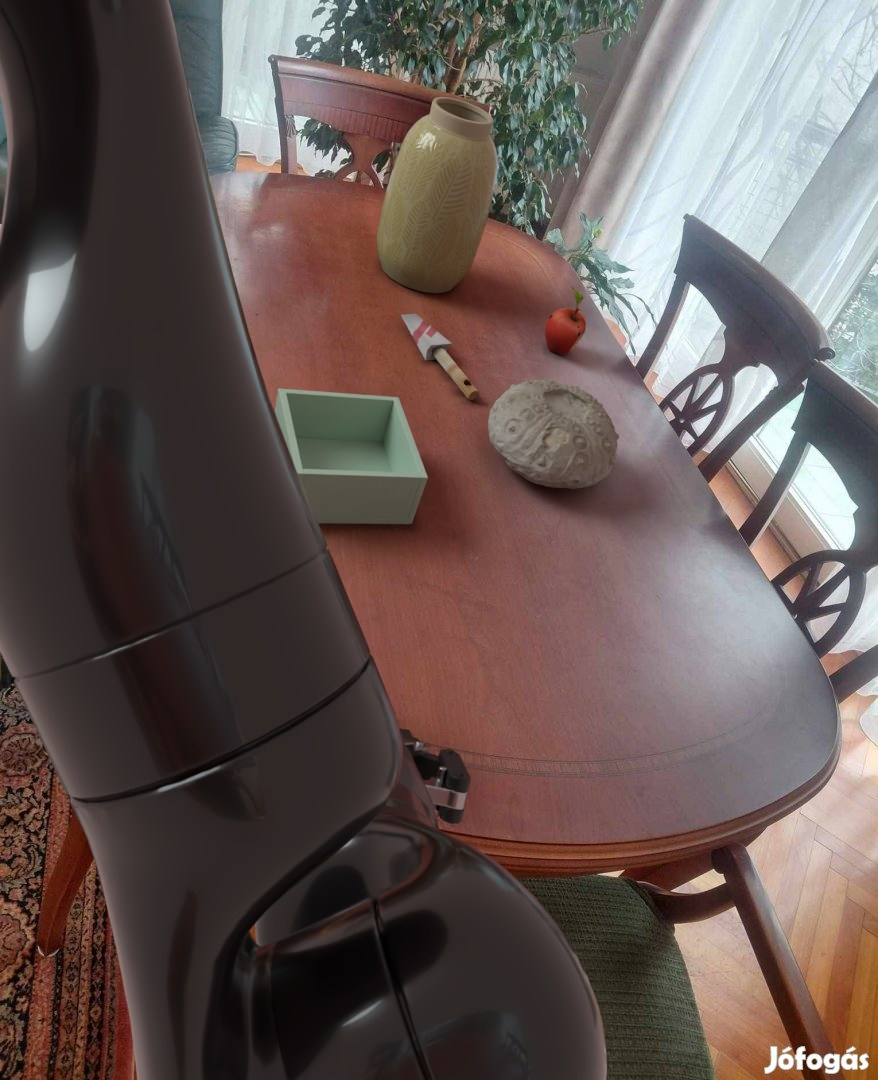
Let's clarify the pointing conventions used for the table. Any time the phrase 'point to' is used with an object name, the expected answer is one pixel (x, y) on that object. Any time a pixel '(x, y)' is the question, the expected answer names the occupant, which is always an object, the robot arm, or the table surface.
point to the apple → (565, 328)
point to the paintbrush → (438, 351)
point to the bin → (353, 455)
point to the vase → (438, 197)
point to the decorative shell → (553, 434)
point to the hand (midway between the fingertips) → (335, 731)
